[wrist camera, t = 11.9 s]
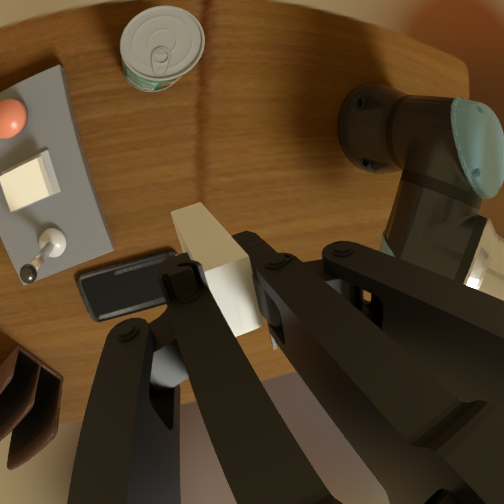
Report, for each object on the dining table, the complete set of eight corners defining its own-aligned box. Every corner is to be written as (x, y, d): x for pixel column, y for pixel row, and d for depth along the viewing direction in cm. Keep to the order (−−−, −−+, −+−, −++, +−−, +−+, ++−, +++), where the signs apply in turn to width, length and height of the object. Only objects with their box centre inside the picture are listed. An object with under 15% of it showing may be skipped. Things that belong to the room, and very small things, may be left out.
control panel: (64, 68, 28) (58, 63, 25) (114, 242, 39) (113, 253, 36) (-27, 114, 25) (-40, 114, 22) (28, 275, 36) (22, 288, 33)
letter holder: (64, 376, 44) (60, 442, 32) (16, 420, 43) (10, 476, 31) (18, 342, 39) (0, 406, 27) (-23, 393, 38) (-37, 449, 26)
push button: (31, 95, 28) (18, 92, 23) (38, 127, 30) (26, 128, 25) (2, 110, 26) (-13, 109, 22) (9, 141, 28) (-5, 144, 24)
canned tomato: (125, 34, 30) (125, 4, 20) (187, 35, 32) (208, 7, 23) (120, 93, 33) (116, 82, 23) (182, 92, 35) (202, 81, 26)
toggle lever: (54, 234, 32) (27, 267, 25) (61, 249, 33) (35, 284, 26) (42, 239, 32) (13, 272, 25) (48, 253, 33) (22, 289, 26)
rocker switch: (42, 155, 28) (36, 158, 26) (54, 192, 30) (49, 195, 29) (4, 173, 27) (-2, 177, 26) (16, 207, 29) (10, 212, 28)
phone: (189, 297, 46) (94, 323, 42) (187, 293, 47) (94, 319, 43) (177, 249, 42) (74, 277, 38) (176, 246, 43) (75, 274, 39)
